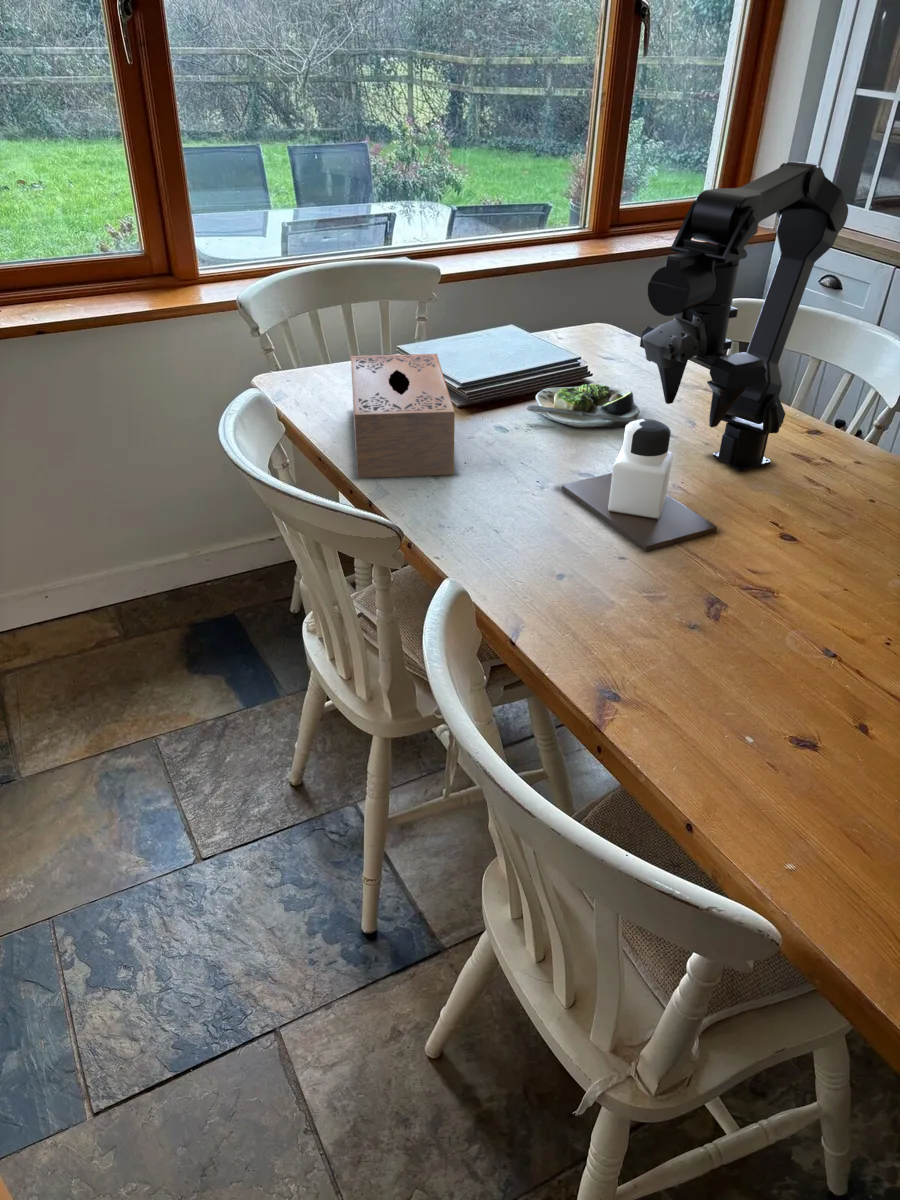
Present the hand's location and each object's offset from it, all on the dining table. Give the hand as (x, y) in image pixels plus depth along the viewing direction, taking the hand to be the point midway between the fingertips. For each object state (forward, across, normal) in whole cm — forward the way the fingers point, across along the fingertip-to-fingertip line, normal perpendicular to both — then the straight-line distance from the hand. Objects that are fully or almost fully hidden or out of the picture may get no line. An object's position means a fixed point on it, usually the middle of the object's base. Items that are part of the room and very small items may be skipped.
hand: (690, 414), depth 124 cm
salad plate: (+13, -33, +7) cm, 36 cm away
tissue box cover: (+13, -36, -28) cm, 47 cm away
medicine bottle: (+12, 0, -8) cm, 14 cm away
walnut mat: (+13, 0, -8) cm, 15 cm away
